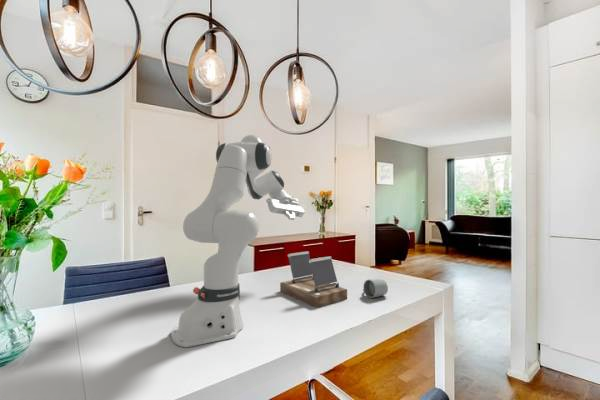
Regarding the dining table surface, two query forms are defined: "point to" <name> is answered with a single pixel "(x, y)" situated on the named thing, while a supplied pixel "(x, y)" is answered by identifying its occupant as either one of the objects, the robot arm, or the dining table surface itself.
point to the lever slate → (323, 271)
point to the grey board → (300, 264)
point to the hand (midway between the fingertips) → (292, 218)
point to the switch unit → (313, 291)
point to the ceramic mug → (375, 288)
